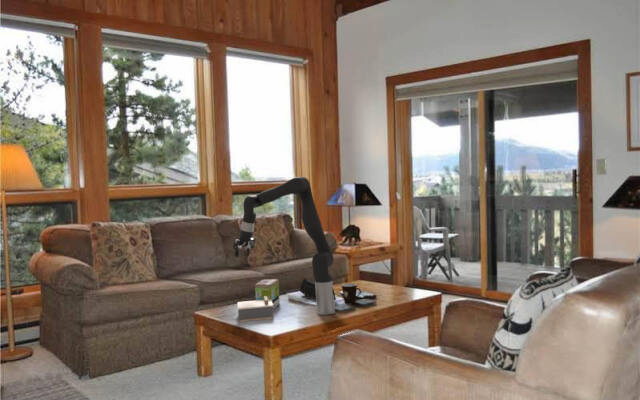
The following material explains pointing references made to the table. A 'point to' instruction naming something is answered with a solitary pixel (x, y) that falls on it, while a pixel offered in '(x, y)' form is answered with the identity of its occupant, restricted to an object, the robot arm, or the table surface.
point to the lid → (255, 304)
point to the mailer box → (256, 314)
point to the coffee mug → (350, 292)
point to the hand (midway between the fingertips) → (241, 256)
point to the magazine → (309, 288)
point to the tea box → (268, 291)
